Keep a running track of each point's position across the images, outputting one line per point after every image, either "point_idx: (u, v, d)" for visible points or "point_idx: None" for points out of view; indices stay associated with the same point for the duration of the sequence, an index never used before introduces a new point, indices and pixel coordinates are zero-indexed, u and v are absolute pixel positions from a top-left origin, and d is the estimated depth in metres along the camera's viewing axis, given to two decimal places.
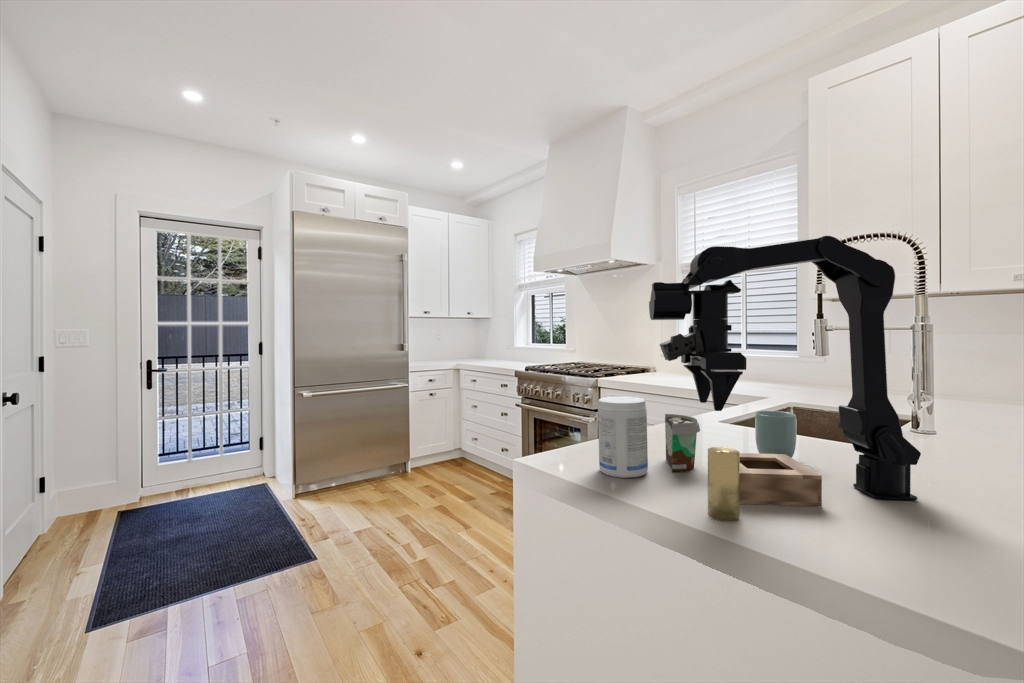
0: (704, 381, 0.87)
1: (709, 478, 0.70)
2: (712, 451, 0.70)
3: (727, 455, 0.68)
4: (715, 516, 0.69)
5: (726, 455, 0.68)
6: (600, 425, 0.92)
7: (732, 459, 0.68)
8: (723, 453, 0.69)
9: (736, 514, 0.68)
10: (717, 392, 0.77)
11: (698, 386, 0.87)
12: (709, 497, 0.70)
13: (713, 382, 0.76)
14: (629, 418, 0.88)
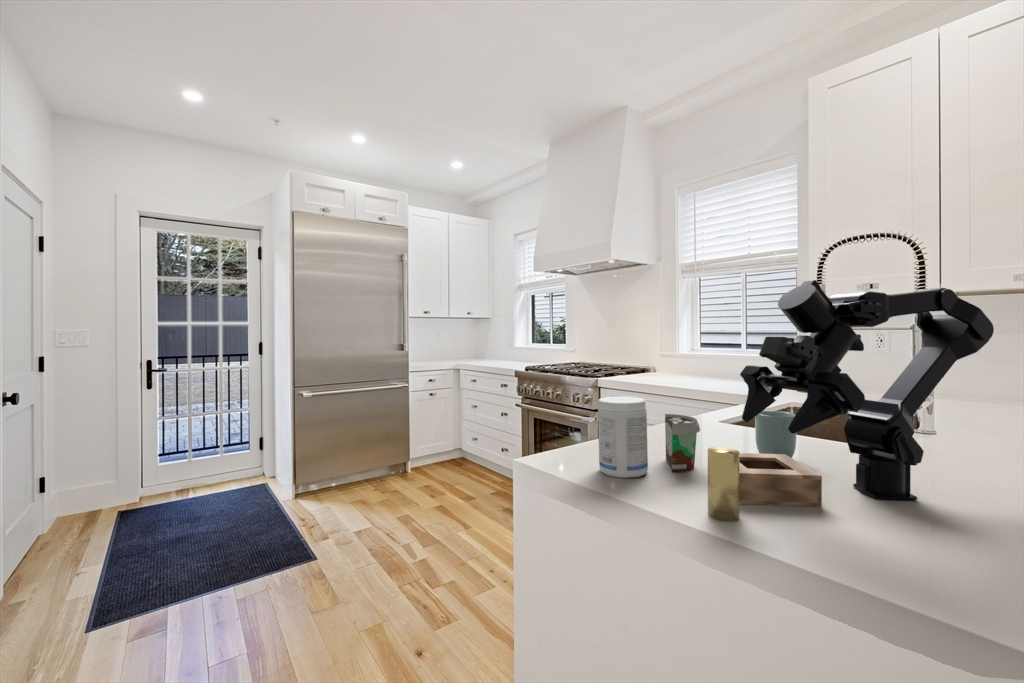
0: (758, 403, 0.77)
1: (709, 478, 0.70)
2: (712, 451, 0.70)
3: (727, 455, 0.68)
4: (715, 516, 0.69)
5: (726, 455, 0.68)
6: (600, 425, 0.92)
7: (732, 459, 0.68)
8: (723, 453, 0.69)
9: (736, 514, 0.68)
10: (807, 414, 0.67)
11: (751, 403, 0.77)
12: (709, 497, 0.70)
13: (815, 402, 0.67)
14: (629, 418, 0.88)
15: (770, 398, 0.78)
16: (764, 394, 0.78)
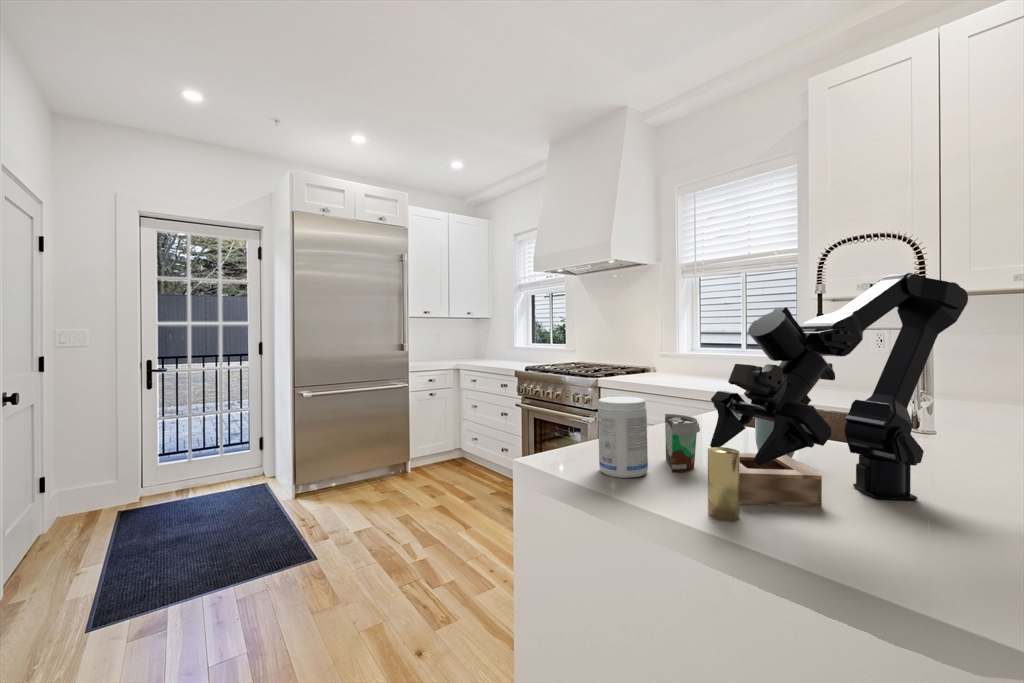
0: (727, 430, 0.76)
1: (709, 478, 0.70)
2: (712, 451, 0.70)
3: (727, 455, 0.68)
4: (715, 516, 0.69)
5: (726, 455, 0.68)
6: (600, 425, 0.92)
7: (732, 459, 0.68)
8: (723, 453, 0.69)
9: (736, 514, 0.68)
10: (773, 445, 0.65)
11: (720, 430, 0.75)
12: (709, 497, 0.70)
13: (781, 434, 0.65)
14: (629, 418, 0.88)
15: (740, 425, 0.77)
16: (734, 421, 0.76)
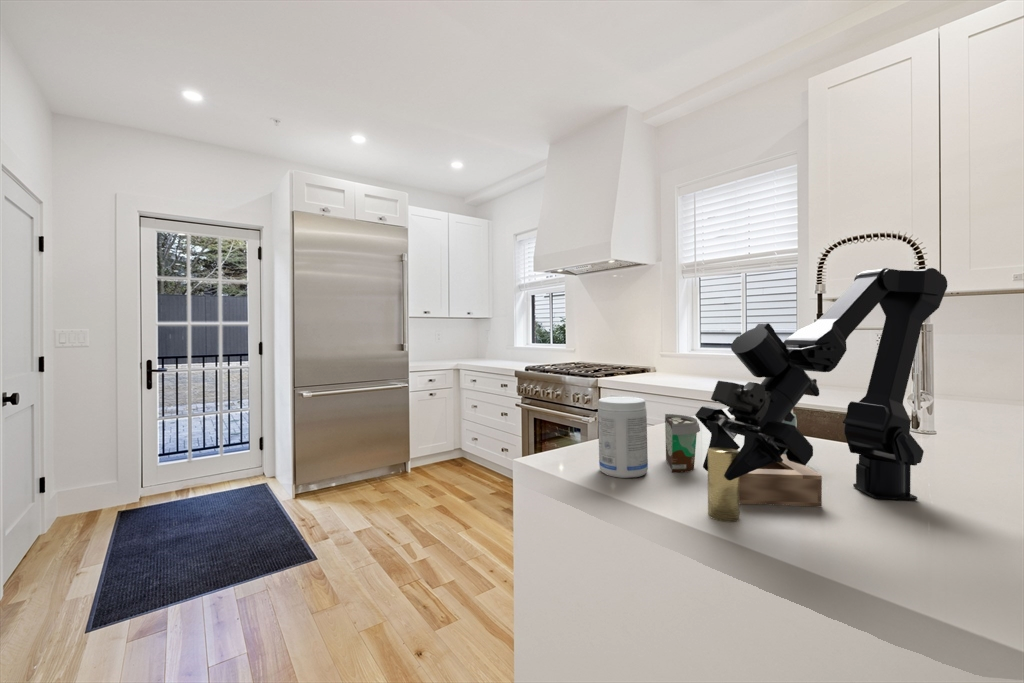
0: None
1: (709, 478, 0.70)
2: (712, 451, 0.70)
3: (727, 455, 0.68)
4: (715, 516, 0.69)
5: (726, 455, 0.68)
6: (600, 425, 0.92)
7: (732, 459, 0.68)
8: (723, 453, 0.69)
9: (736, 514, 0.68)
10: (743, 461, 0.67)
11: None
12: (709, 497, 0.70)
13: (750, 450, 0.66)
14: (629, 418, 0.88)
15: (734, 445, 0.74)
16: (727, 441, 0.74)
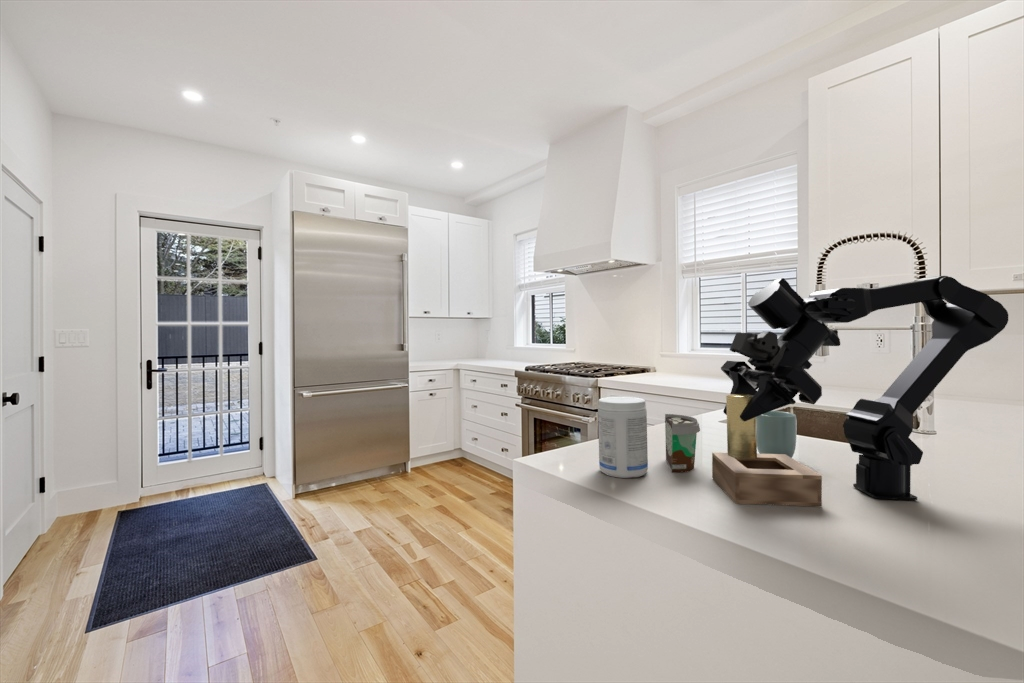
0: None
1: (727, 420, 0.77)
2: (729, 396, 0.77)
3: (742, 398, 0.75)
4: (733, 454, 0.76)
5: (741, 398, 0.75)
6: (600, 425, 0.92)
7: (747, 402, 0.74)
8: (739, 397, 0.75)
9: (752, 452, 0.75)
10: (757, 403, 0.73)
11: None
12: (728, 438, 0.77)
13: (764, 392, 0.73)
14: (629, 418, 0.88)
15: (755, 393, 0.80)
16: (748, 389, 0.80)
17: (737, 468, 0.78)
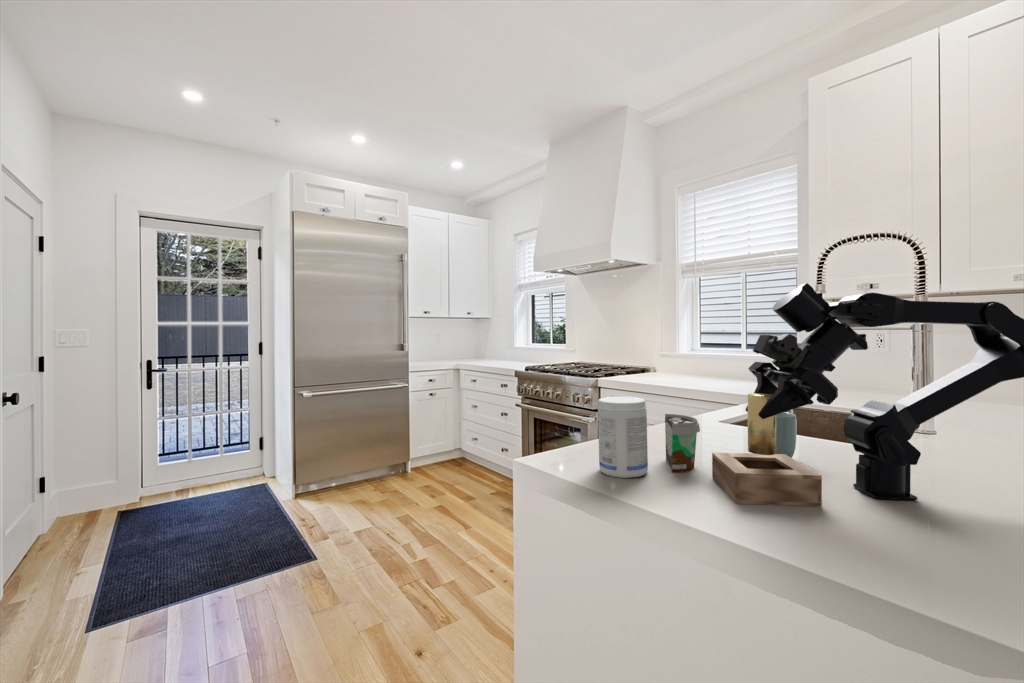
0: None
1: (748, 418, 0.81)
2: (750, 394, 0.81)
3: (761, 397, 0.78)
4: (751, 450, 0.80)
5: (760, 397, 0.79)
6: (600, 425, 0.92)
7: (767, 400, 0.78)
8: (759, 396, 0.79)
9: (770, 449, 0.78)
10: (775, 402, 0.77)
11: None
12: (748, 434, 0.81)
13: (781, 392, 0.76)
14: (629, 418, 0.88)
15: None
16: (772, 389, 0.83)
17: (737, 468, 0.78)
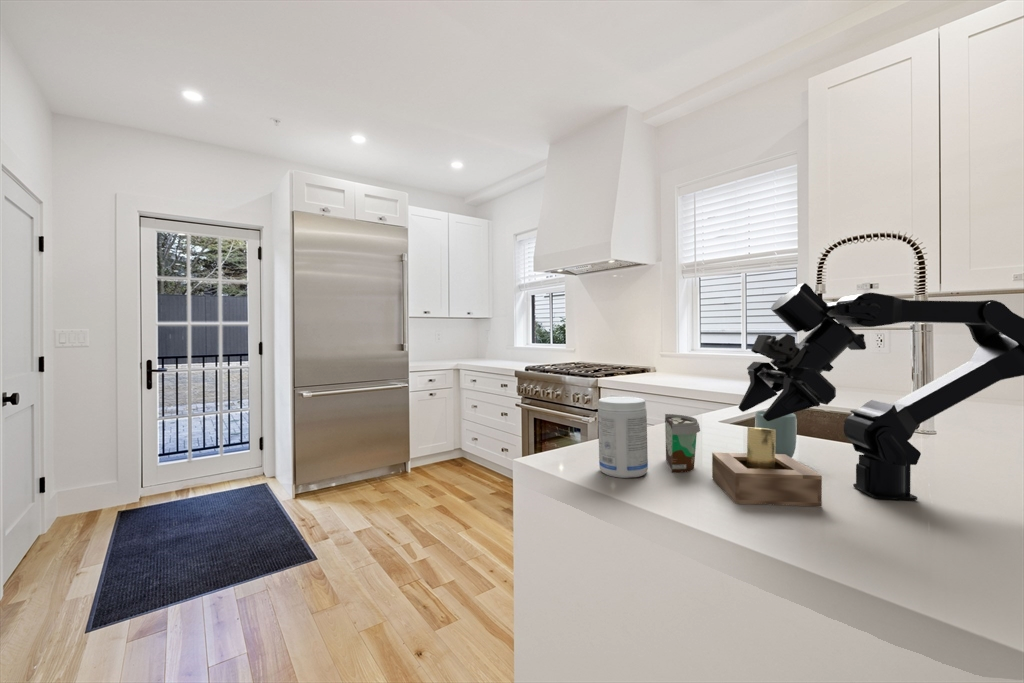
0: (756, 395, 0.85)
1: (747, 451, 0.82)
2: (750, 427, 0.82)
3: (761, 430, 0.80)
4: None
5: (760, 430, 0.80)
6: (600, 425, 0.92)
7: (766, 434, 0.79)
8: (758, 429, 0.80)
9: None
10: (780, 404, 0.75)
11: (748, 395, 0.85)
12: None
13: (787, 394, 0.74)
14: (629, 418, 0.88)
15: (771, 392, 0.85)
16: (764, 388, 0.85)
17: (737, 468, 0.78)
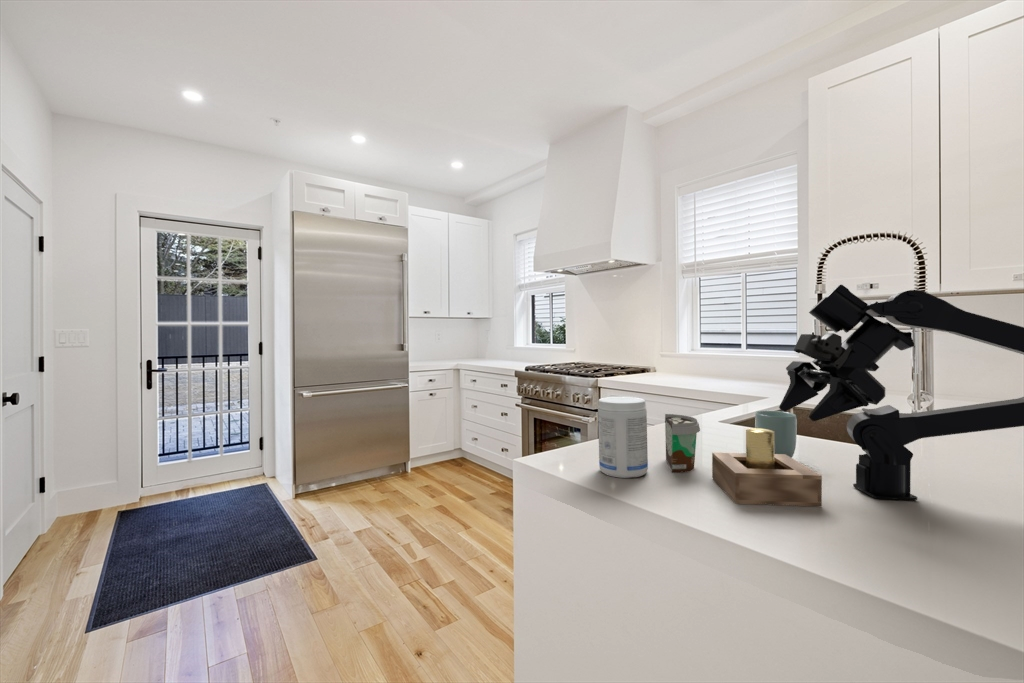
0: (797, 395, 0.85)
1: (746, 454, 0.81)
2: (748, 431, 0.81)
3: (760, 434, 0.79)
4: None
5: (759, 434, 0.79)
6: (600, 425, 0.92)
7: (765, 438, 0.78)
8: (757, 432, 0.79)
9: None
10: (827, 404, 0.74)
11: (789, 394, 0.85)
12: None
13: (834, 393, 0.73)
14: (629, 418, 0.88)
15: (812, 391, 0.85)
16: (805, 387, 0.85)
17: (737, 468, 0.78)
